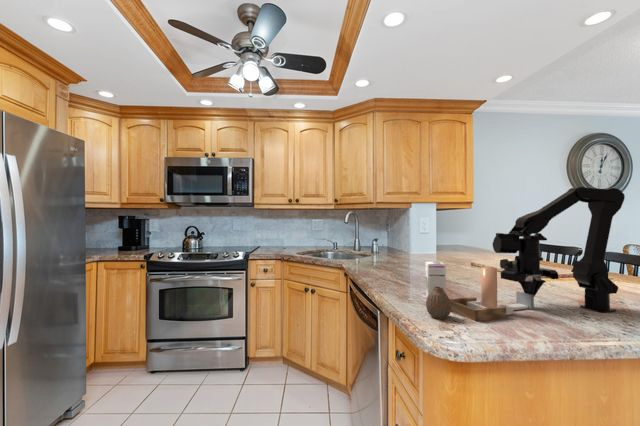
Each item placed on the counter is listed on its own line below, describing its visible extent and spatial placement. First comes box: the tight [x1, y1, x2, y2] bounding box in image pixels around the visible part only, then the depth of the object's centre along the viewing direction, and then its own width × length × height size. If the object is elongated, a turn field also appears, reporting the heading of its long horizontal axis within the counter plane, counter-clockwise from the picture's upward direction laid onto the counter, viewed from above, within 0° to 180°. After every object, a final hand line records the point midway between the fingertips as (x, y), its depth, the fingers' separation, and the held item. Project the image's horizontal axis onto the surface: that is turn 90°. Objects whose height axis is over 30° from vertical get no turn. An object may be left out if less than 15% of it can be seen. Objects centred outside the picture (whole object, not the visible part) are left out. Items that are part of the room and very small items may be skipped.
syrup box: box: [424, 261, 447, 301], centre depth 96 cm, size 6×6×14 cm
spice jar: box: [480, 266, 498, 308], centre depth 90 cm, size 4×4×12 cm
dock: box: [449, 296, 507, 322], centre depth 88 cm, size 12×12×3 cm
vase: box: [425, 287, 452, 320], centre depth 85 cm, size 7×7×9 cm
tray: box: [467, 291, 535, 316], centre depth 92 cm, size 20×9×4 cm, turn 106°
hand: (529, 300), depth 95 cm, fingers closed
